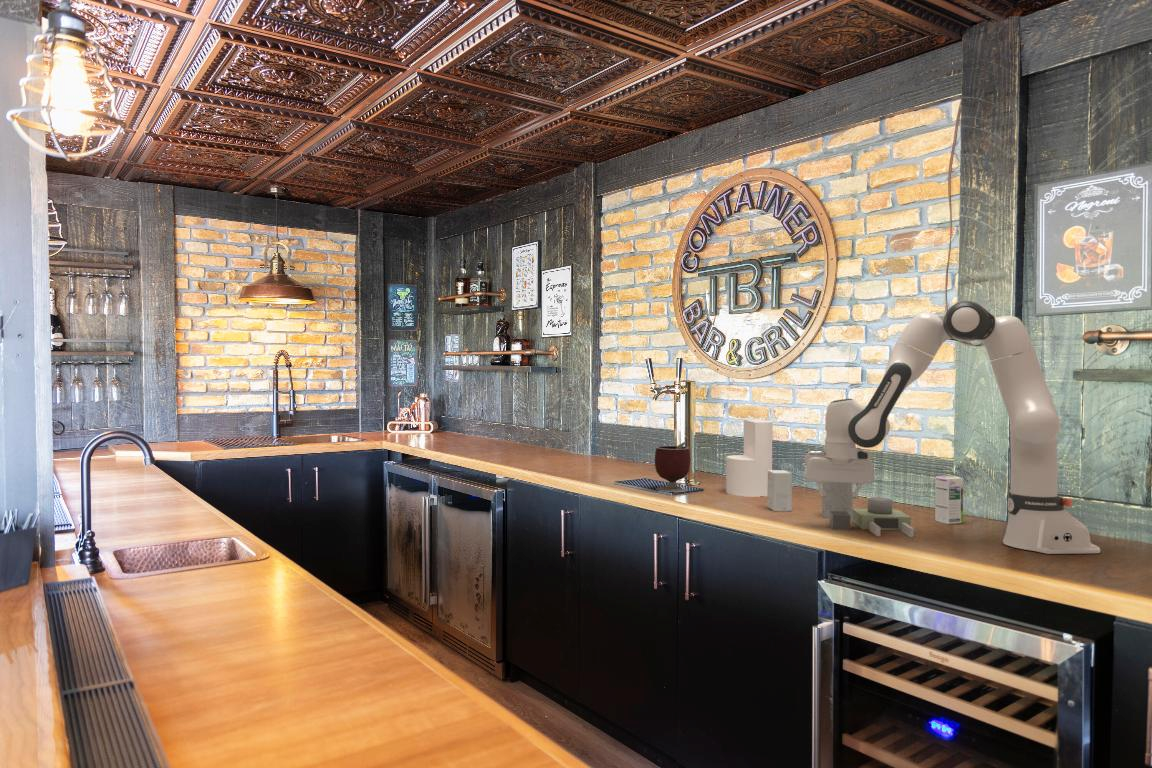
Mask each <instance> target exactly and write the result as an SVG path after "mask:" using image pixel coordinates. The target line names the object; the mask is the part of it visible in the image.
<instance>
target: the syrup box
mask: <svg viewBox="0 0 1152 768" xmlns="http://www.w3.org/2000/svg"><path fill="white" fill-rule="evenodd" d="M934 480H935V482H934V485H935V488H934V495H935V496H934V498H935V499H934V501H935V502H934V503H935V506H934V510H935V511H934V514H935V516H934V518H935V519H934V520H935V522H938V523H941V524H946V525H954V524H957V525H958V524H963V523H964V478H963V477H961V476H957V475H939V476H938V475H937V476H936V475H935V478H934Z"/></svg>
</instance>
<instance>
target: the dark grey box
mask: <svg viewBox="0 0 1152 768" xmlns="http://www.w3.org/2000/svg"><path fill="white" fill-rule="evenodd" d="M828 521H829V523H828V524H829V526H830V528H831V529H832V530H833V531H834V530H835V531H836V530H837V531H838V530H839V531H841V530H842V531H851V518H850V515H849V514H848V512H847V511H830V518H829V520H828Z"/></svg>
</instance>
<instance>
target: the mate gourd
mask: <svg viewBox="0 0 1152 768" xmlns="http://www.w3.org/2000/svg"><path fill="white" fill-rule="evenodd" d="M686 444H687V442H686V441H683V442H682V443H680V444H678V445H660V446H656V448H655V453H654V467H655V472H656V473H657V475H658V476H659V478H661V479H664V480H665V481H668V484H667V486H661V487H656V491H657V490H658V491H657V492H659V491H665V492H683V491H687V490H688V491H689V489H688V488H687V489H682V488H681V486H678V485H677V482H678V481H680V480H683V479H685V478H686V476H687V475H688V474H689V472H690V466H691V453H690V447H689V446H685V445H686Z"/></svg>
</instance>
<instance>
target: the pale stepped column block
mask: <svg viewBox="0 0 1152 768" xmlns="http://www.w3.org/2000/svg"><path fill="white" fill-rule="evenodd" d="M773 422H774V421H772V420H767V419H765V420H764V419H743V454H736V455H735V454H733V455H727V456H726V457H725V458H726V459H725V460H726V461H725V462H726V464H725V465H726V468H725V471H726V472H725V475H726V476H725V492H726V494H728V495H730V494H731V495H730V496H736V497H744V498H745V497H750V498H758V497H759V498H760V496H764V497H767V492H768V470H773Z"/></svg>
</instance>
